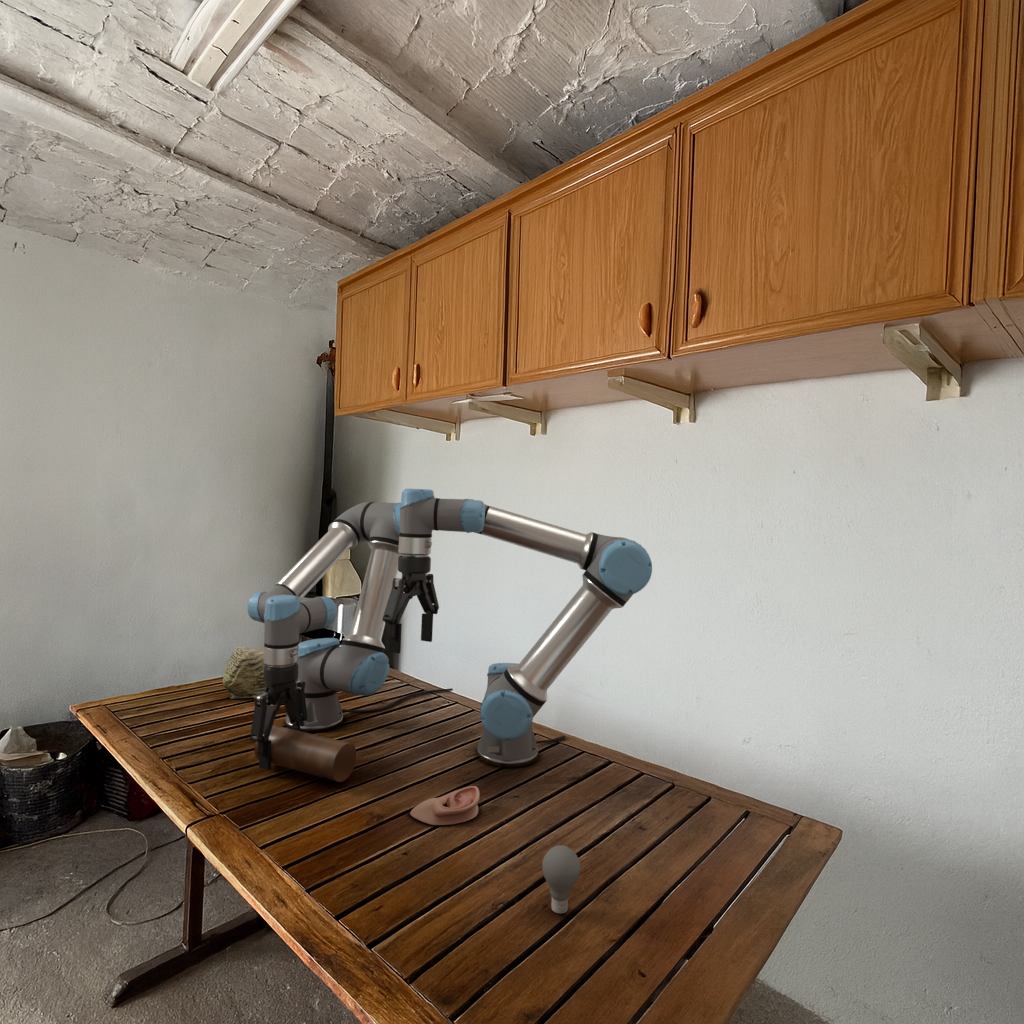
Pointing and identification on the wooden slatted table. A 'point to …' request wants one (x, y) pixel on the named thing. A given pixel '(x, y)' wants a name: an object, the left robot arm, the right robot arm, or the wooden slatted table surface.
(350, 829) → the wooden slatted table surface
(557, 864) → the light bulb
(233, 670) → the fossil
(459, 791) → the anatomical model
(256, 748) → the brown wooden cylinder
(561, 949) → the wooden slatted table surface
